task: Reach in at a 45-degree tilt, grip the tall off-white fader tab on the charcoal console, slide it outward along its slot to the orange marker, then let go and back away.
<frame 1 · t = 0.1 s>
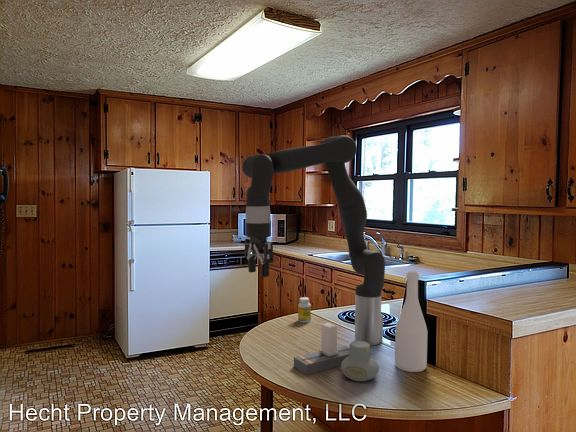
hand: (258, 274, 132), 29 cm above the countertop, tool pointing down, fingers open, 8 cm apart
supplement bottle: (304, 321, 182), on the countertop
console: (326, 363, 137), on the countertop
wine bottle: (410, 367, 135), on the countertop
fader tab: (329, 339, 137), point 8 cm above the countertop, slide at 0.0 cm
air freshener: (359, 378, 128), on the countertop
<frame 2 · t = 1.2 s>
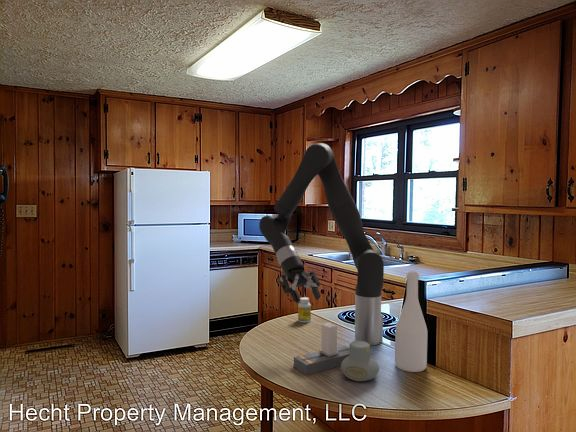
hand: (308, 300, 146), 18 cm above the countertop, tool tilted 45°, fingers open, 8 cm apart
nothing on the countertop moved.
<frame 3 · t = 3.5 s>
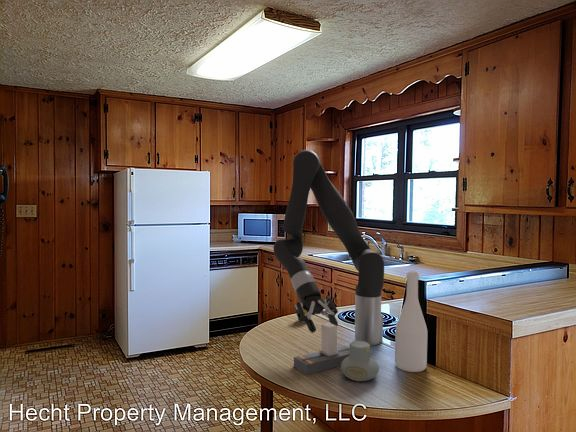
hand: (325, 329, 139), 10 cm above the countertop, tool tilted 45°, fingers open, 8 cm apart
nothing on the countertop moved.
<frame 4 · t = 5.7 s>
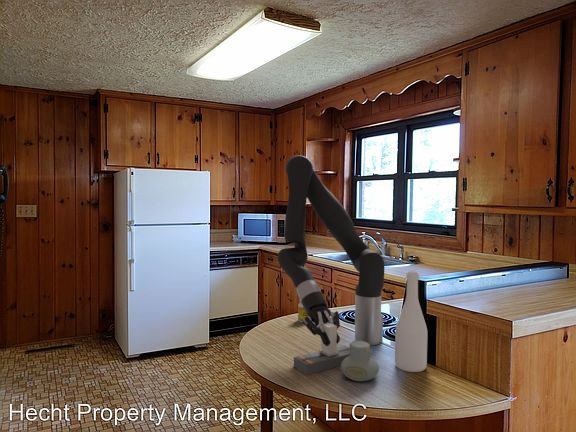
hand: (333, 343, 136), 7 cm above the countertop, tool tilted 45°, fingers closed on fader tab, 3 cm apart
fader tab: (329, 339, 137), point 8 cm above the countertop, slide at 0.0 cm, touching gripper
everything else where it was.
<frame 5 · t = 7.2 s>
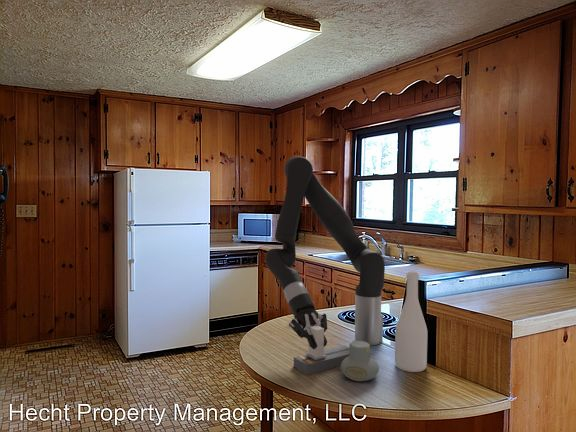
hand: (320, 346, 133), 7 cm above the countertop, tool tilted 45°, fingers closed on fader tab, 3 cm apart
fader tab: (316, 341, 135), point 8 cm above the countertop, slide at 5.0 cm, touching gripper
everything else where it was.
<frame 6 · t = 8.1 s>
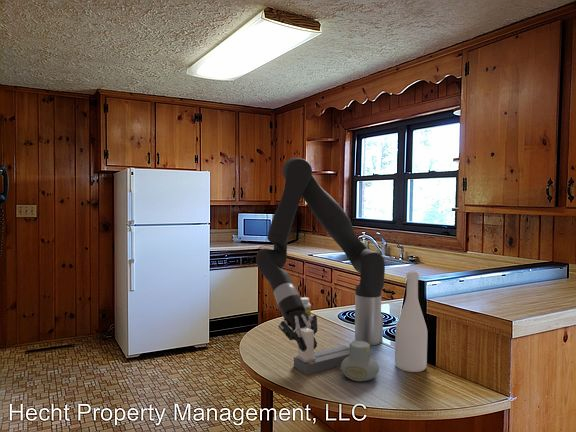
hand: (309, 348, 131), 7 cm above the countertop, tool tilted 45°, fingers closed on fader tab, 3 cm apart
fader tab: (305, 344, 133), point 8 cm above the countertop, slide at 8.9 cm, touching gripper
everything else where it was.
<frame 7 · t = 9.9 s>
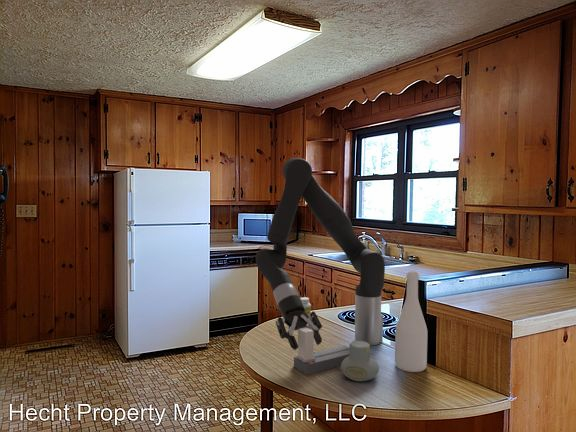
hand: (308, 346, 132), 8 cm above the countertop, tool tilted 45°, fingers open, 8 cm apart
fader tab: (305, 344, 133), point 8 cm above the countertop, slide at 9.0 cm
everything else where it was.
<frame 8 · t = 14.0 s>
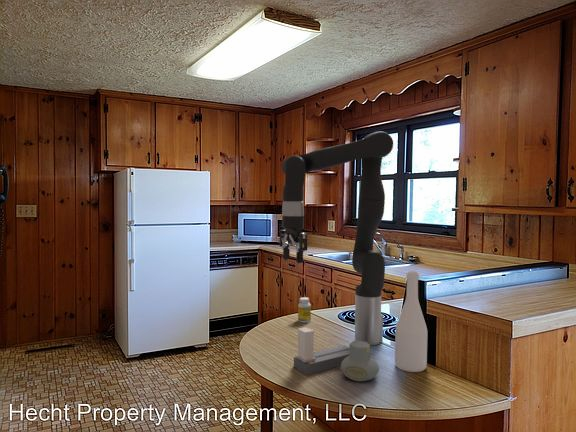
hand: (292, 261, 151), 30 cm above the countertop, tool pointing down, fingers open, 8 cm apart
nothing on the countertop moved.
at the end: fader tab slide at 9.0 cm; the gripper is holding nothing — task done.
